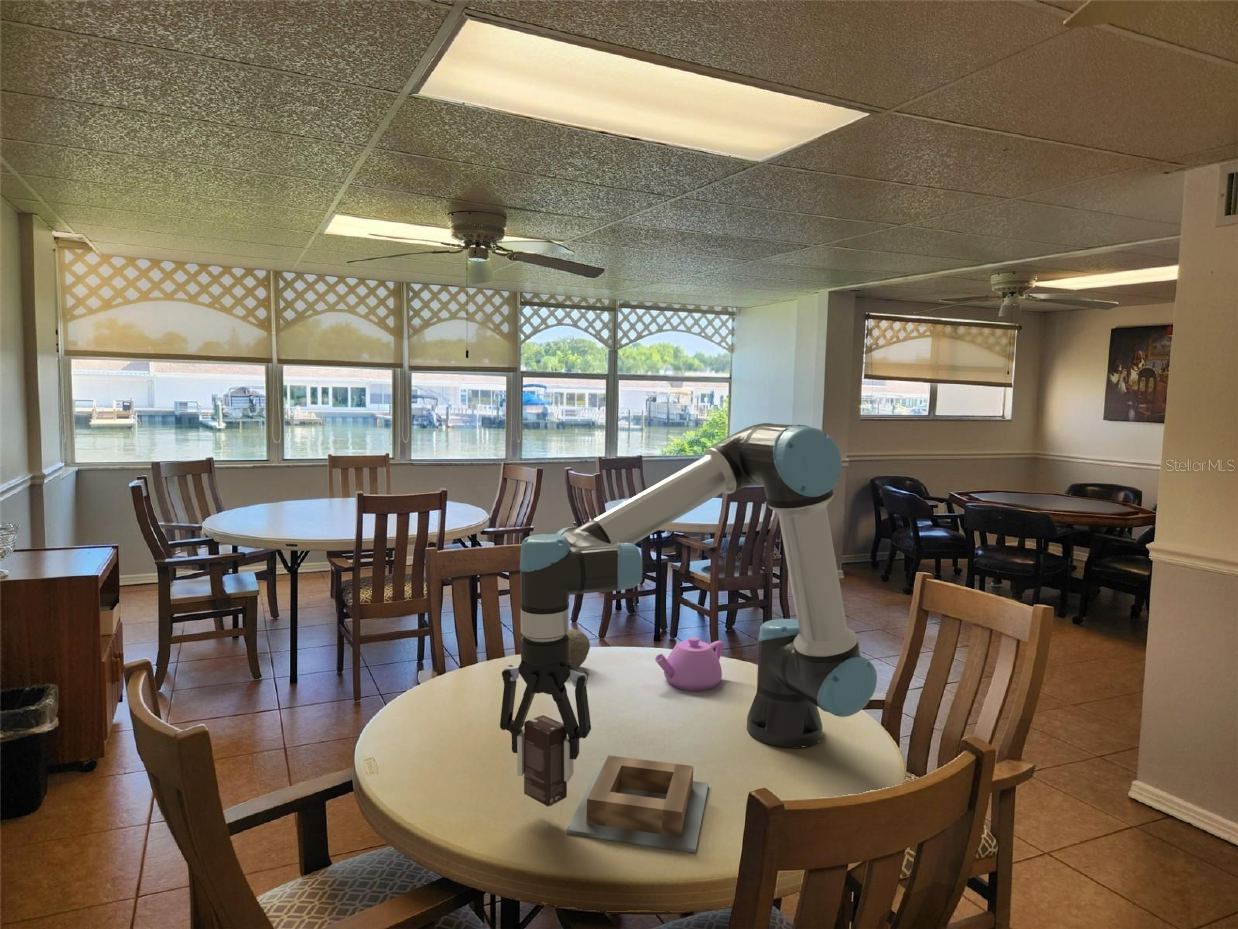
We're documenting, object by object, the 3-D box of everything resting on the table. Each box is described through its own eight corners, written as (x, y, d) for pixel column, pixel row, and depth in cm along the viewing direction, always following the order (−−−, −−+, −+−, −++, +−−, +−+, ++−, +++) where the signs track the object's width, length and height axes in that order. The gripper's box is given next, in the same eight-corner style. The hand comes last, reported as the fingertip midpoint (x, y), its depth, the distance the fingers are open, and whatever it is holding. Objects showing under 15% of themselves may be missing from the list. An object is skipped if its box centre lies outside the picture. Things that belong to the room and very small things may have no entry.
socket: (708, 786, 132) (709, 761, 132) (695, 853, 112) (696, 823, 112) (597, 771, 136) (598, 747, 136) (566, 833, 117) (567, 805, 116)
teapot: (639, 680, 181) (640, 637, 180) (704, 666, 192) (705, 625, 191) (673, 700, 169) (675, 654, 168) (740, 684, 180) (742, 640, 179)
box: (568, 797, 120) (568, 724, 119) (547, 808, 117) (547, 734, 116) (543, 783, 124) (543, 713, 123) (522, 794, 121) (521, 722, 120)
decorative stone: (554, 678, 181) (555, 637, 180) (544, 666, 189) (545, 627, 188) (594, 673, 185) (595, 633, 184) (582, 661, 193) (583, 623, 192)
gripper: (612, 631, 120) (611, 769, 122) (493, 622, 124) (495, 756, 126) (601, 646, 112) (600, 794, 114) (475, 637, 116) (477, 779, 119)
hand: (545, 774), depth 120 cm, fingers closed on box, 7 cm apart
